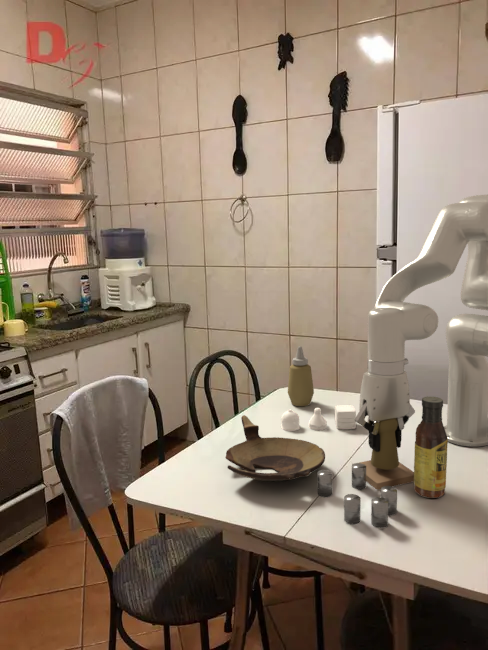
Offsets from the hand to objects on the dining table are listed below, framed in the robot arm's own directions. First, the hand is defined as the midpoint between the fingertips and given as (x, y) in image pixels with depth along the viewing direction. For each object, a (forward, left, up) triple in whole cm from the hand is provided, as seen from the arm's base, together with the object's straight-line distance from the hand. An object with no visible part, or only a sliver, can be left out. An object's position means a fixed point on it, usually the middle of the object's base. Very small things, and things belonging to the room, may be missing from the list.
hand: (385, 446), depth 118 cm
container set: (+1, -31, -7) cm, 32 cm away
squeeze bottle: (-3, -50, -7) cm, 51 cm away
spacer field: (+12, +9, -7) cm, 16 cm away
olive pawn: (0, 0, -4) cm, 4 cm away
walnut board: (0, 0, -7) cm, 7 cm away
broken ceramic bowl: (+21, -13, -7) cm, 26 cm away
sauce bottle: (-4, +10, -7) cm, 13 cm away
